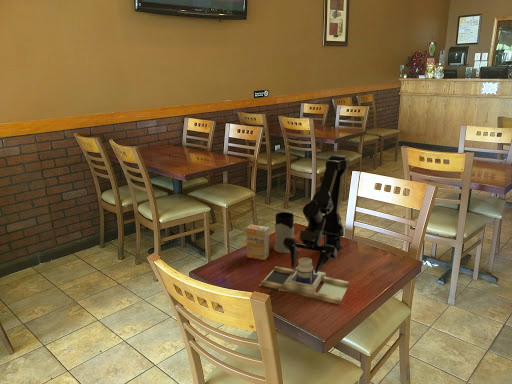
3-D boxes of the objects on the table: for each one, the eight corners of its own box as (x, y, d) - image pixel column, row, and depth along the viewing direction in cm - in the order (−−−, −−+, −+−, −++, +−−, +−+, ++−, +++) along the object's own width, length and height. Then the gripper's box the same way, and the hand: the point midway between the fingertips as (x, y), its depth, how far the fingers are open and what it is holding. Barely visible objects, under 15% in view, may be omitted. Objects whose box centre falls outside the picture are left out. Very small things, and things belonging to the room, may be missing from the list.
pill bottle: (303, 279, 144) (304, 254, 141) (316, 285, 140) (317, 259, 137) (293, 285, 140) (293, 260, 137) (306, 291, 136) (306, 265, 133)
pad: (316, 296, 133) (316, 295, 133) (324, 282, 141) (324, 282, 141) (340, 301, 130) (340, 301, 130) (347, 287, 138) (347, 287, 138)
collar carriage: (287, 287, 138) (288, 280, 137) (297, 275, 145) (297, 269, 145) (313, 293, 134) (313, 286, 133) (321, 280, 141) (321, 274, 141)
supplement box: (246, 257, 161) (245, 227, 157) (250, 252, 165) (250, 223, 161) (265, 261, 158) (265, 230, 154) (269, 256, 162) (269, 226, 158)
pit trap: (259, 286, 140) (259, 285, 140) (275, 268, 152) (275, 267, 152) (279, 291, 136) (279, 289, 136) (294, 272, 148) (294, 271, 148)
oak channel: (261, 285, 140) (260, 277, 139) (275, 269, 151) (275, 262, 150) (339, 304, 128) (339, 296, 127) (348, 285, 139) (349, 277, 138)
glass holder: (270, 250, 167) (270, 217, 162) (282, 238, 179) (282, 206, 174) (290, 254, 163) (291, 220, 159) (301, 241, 176) (302, 209, 171)
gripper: (284, 216, 140) (272, 257, 134) (336, 224, 132) (326, 268, 126) (292, 228, 149) (281, 268, 143) (341, 237, 141) (331, 279, 135)
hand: (303, 270), depth 137 cm, fingers open, 8 cm apart
